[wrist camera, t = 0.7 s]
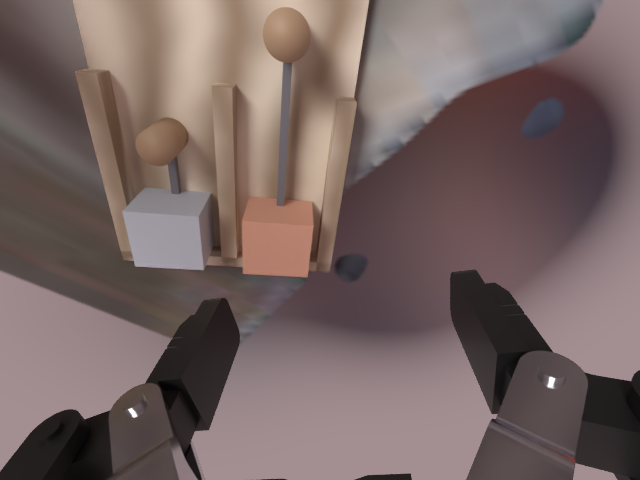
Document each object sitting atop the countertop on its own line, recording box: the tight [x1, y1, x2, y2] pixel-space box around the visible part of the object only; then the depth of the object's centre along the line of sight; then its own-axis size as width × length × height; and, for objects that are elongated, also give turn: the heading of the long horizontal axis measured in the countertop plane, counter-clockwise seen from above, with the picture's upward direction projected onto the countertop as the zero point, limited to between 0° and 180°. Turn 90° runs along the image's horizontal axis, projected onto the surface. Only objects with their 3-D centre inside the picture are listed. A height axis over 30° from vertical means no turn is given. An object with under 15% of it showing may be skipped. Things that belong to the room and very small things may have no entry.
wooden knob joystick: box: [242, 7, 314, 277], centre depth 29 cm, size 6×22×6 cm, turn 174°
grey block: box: [122, 117, 215, 270], centre depth 31 cm, size 6×13×5 cm, turn 174°
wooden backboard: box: [72, 0, 369, 272], centre depth 27 cm, size 22×40×3 cm, turn 174°
